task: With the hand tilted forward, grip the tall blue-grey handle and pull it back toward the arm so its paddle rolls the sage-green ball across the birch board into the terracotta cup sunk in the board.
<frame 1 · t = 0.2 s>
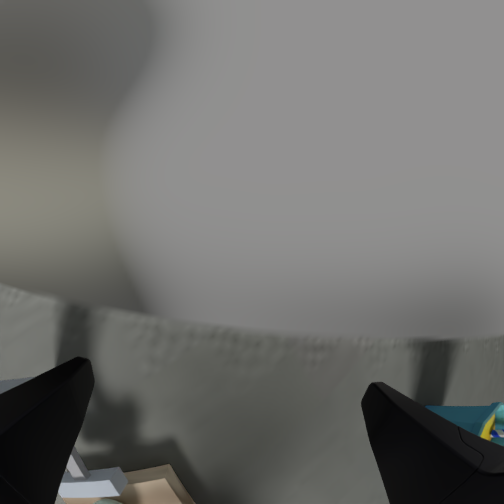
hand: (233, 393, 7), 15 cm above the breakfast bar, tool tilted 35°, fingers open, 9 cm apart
cup: (427, 424, 22), on the breakfast bar
pull handle: (48, 447, 11), point 7 cm above the breakfast bar, slide at 0.0 cm
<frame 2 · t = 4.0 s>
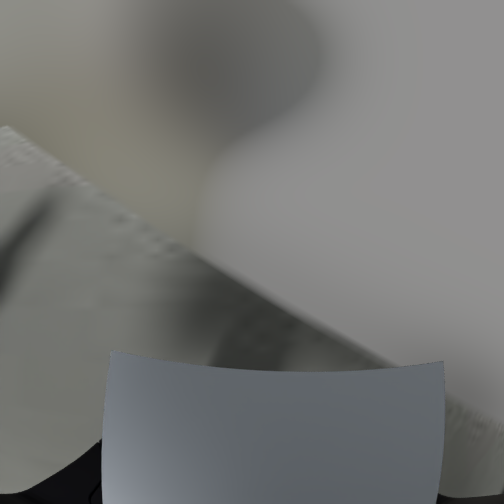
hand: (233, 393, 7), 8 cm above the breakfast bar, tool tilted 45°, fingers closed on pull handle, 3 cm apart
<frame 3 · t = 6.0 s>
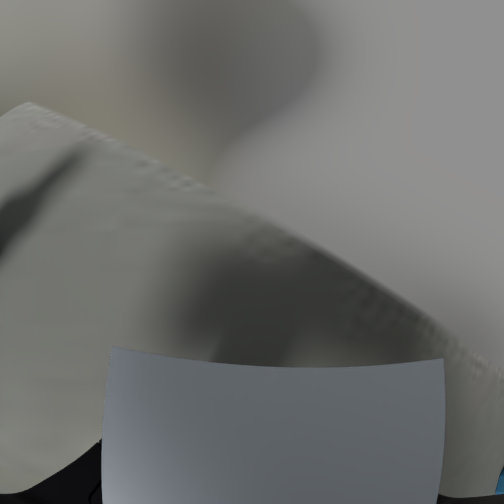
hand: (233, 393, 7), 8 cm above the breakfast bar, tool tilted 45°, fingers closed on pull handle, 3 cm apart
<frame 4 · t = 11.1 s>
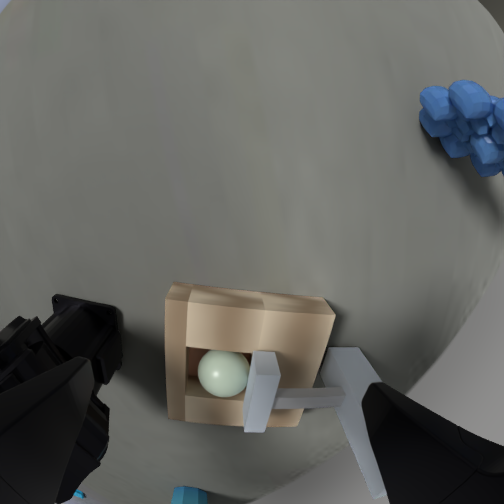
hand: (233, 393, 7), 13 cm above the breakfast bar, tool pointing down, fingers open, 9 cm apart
cup: (187, 493, 29), on the breakfast bar
ball: (224, 372, 20), point 2 cm above the breakfast bar, tilted 159°, touching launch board, pull handle
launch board: (240, 355, 22), on the breakfast bar
grapes: (444, 132, 18), on the breakfast bar
sponge: (60, 482, 31), on the breakfast bar
pull handle: (324, 417, 16), point 7 cm above the breakfast bar, slide at 5.9 cm, touching ball
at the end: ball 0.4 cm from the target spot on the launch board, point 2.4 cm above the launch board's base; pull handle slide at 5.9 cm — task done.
